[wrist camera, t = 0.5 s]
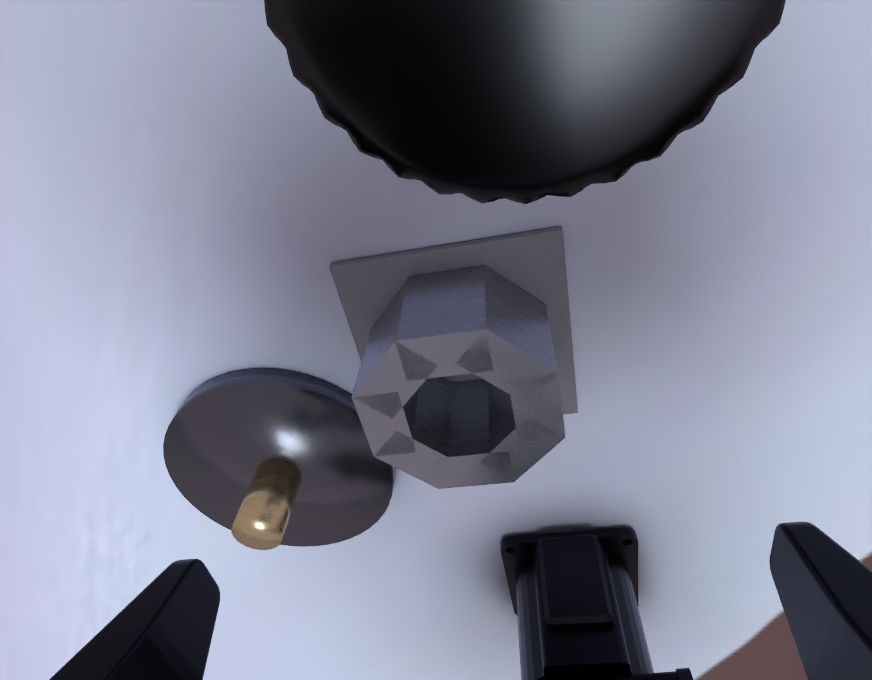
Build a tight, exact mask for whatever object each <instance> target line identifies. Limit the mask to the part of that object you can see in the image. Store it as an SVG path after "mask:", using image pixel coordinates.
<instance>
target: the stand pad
mask: <svg viewBox="0 0 872 680" xmlns="http://www.w3.org/2000/svg"><path fill="white" fill-rule="evenodd" d="M483 264H485V265H487V266H488V267H490V268H491V269H493V270H494V271H496V272H497V273H499V274H501V275H502V276H504V277H505V278H507V279H508V280H510V281H511V282H513V283H515V284H516V285H518V286H519V287H521V288H522V289H524V290H526V291H527V292H529V293H530V294H532V295H533V296H535V297H536V298H538V299H540V300H541V301H543V302H544V303H545V304H546V309H547V315H548V320H549V325H550V330H551V336H552V341H553V346H554V351H555V357H556V362H557V367H558V372H559V383H560V392H561V402H562V412H563V414H569V413H578V411H577V399H576V387H575V375H574V363H573V351H572V339H571V327H570V315H569V303H568V291H567V279H566V267H565V255H564V243H563V231H562V227H561V226H559V227H553V228H547V229H540V230H534V231H528V232H522V233H516V234H509V235H503V236H497V237H491V238H484V239H478V240H472V241H466V242H460V243H453V244H447V245H441V246H435V247H429V248H422V249H416V250H410V251H404V252H397V253H391V254H385V255H379V256H373V257H366V258H360V259H354V260H348V261H342V262H335V263H331V265H330V267H329V268H330V270H331V273H332V276H333V279H334V282H335V285H336V288H337V291H338V294H339V297H340V300H341V302H342V305H343V308H344V311H345V314H346V317H347V320H348V323H349V326H350V329H351V332H352V335H353V337H354V340H355V343H356V346H357V349H358V352H359V355H360V358H361V361H362V359H363V355H364V352H365V348H366V345H367V341H368V338H369V334H370V331H371V327H372V326H373V325H374V323H375V322H376V321H377V319H378V318H379V316H380V315H381V314H382V312H383V311H384V310H385V308H386V307H387V305H388V304H389V303H390V301H391V300H392V299H393V297H394V296H395V294H396V293H397V292H398V290H399V289H400V288H401V286H402V285H403V283H404V282H405V281H406V279H407V278H408V277H409V276H411V275H417V274H424V273H430V272H437V271H443V270H450V269H456V268H463V267H469V266H476V265H483ZM444 378H446V379H447V380H449V381H451V382H459V381H467V380H476V379H482V378H480V377H479V376H477V375H475V374H473V373H470V374H461V375H453V376H445V377H444Z"/></svg>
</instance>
